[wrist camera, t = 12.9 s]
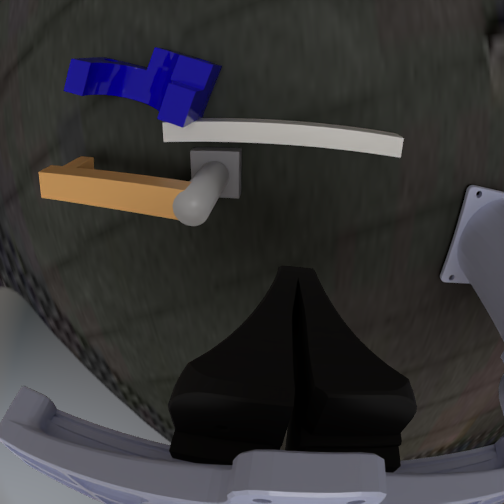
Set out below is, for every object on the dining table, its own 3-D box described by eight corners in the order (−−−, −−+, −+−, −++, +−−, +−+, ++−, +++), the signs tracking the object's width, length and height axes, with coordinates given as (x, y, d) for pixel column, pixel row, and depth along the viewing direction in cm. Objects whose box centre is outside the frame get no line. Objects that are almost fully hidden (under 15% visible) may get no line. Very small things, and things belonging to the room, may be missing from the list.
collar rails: (404, -20, 12) (412, -26, 11) (384, 204, 20) (390, 214, 19) (172, -31, 13) (163, -37, 12) (175, 190, 21) (167, 198, 20)
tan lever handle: (230, 163, 19) (210, 194, 14) (227, 191, 20) (207, 229, 15) (83, 146, 19) (36, 171, 15) (84, 171, 20) (39, 200, 16)
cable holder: (223, 66, 17) (206, 64, 13) (203, 116, 19) (182, 127, 15) (112, 37, 16) (78, 34, 13) (98, 84, 18) (63, 91, 14)
